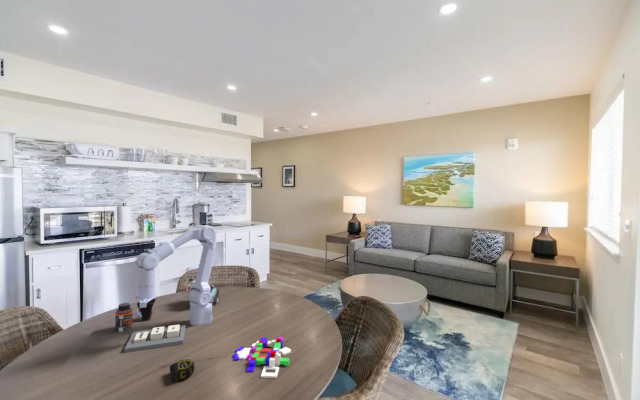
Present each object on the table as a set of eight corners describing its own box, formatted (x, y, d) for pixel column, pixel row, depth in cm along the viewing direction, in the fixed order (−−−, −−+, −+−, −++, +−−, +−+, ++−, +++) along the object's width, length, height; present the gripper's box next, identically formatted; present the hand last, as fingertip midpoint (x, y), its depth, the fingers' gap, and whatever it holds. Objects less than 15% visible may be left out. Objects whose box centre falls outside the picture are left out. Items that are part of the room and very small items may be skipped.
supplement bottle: (123, 335, 120) (124, 307, 120) (111, 333, 121) (111, 306, 121) (135, 328, 126) (135, 302, 126) (123, 327, 127) (124, 301, 127)
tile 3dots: (148, 340, 116) (148, 330, 116) (145, 347, 111) (145, 337, 111) (136, 341, 115) (137, 332, 115) (133, 349, 109) (133, 339, 109)
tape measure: (169, 373, 95) (169, 362, 95) (192, 367, 99) (192, 356, 99) (172, 385, 90) (172, 373, 90) (196, 377, 93) (196, 366, 93)
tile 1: (164, 335, 118) (164, 325, 118) (162, 342, 113) (162, 332, 113) (153, 336, 117) (153, 327, 117) (150, 343, 111) (150, 333, 111)
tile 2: (179, 333, 120) (179, 324, 120) (178, 339, 115) (178, 330, 115) (168, 334, 119) (168, 325, 119) (166, 341, 113) (166, 331, 113)
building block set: (243, 339, 119) (243, 328, 119) (294, 341, 119) (294, 330, 119) (221, 377, 94) (222, 363, 94) (285, 379, 94) (286, 365, 94)
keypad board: (185, 330, 125) (185, 325, 125) (183, 346, 112) (183, 340, 112) (133, 337, 118) (133, 331, 118) (124, 355, 105) (124, 348, 105)
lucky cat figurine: (217, 307, 151) (203, 283, 146) (192, 317, 151) (177, 294, 146) (222, 288, 167) (209, 266, 162) (200, 297, 167) (186, 275, 161)
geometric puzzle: (160, 313, 138) (150, 299, 138) (150, 318, 131) (140, 304, 132) (148, 321, 138) (139, 307, 139) (138, 327, 132) (128, 312, 132)
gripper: (138, 280, 119) (138, 313, 119) (129, 291, 105) (129, 329, 105) (158, 278, 121) (158, 311, 121) (152, 289, 107) (152, 326, 108)
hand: (146, 319), depth 113 cm, fingers closed
